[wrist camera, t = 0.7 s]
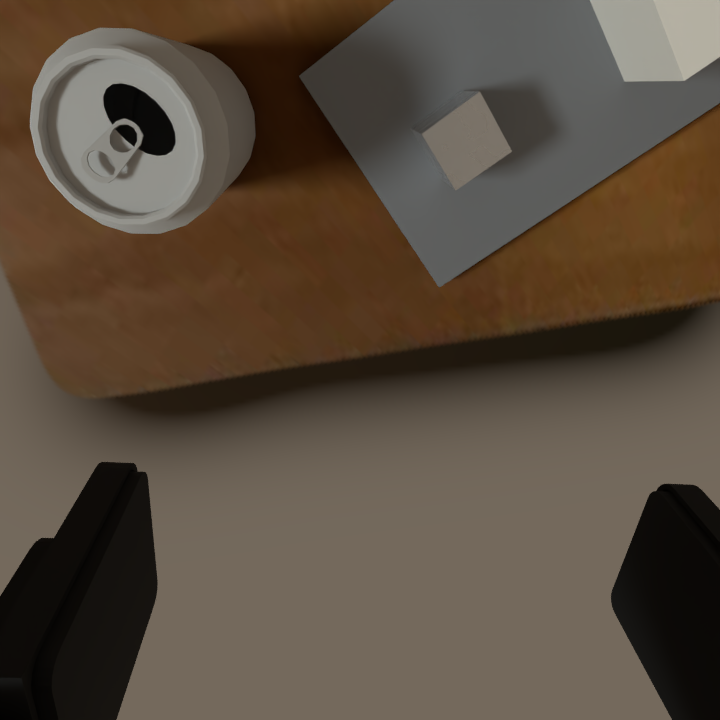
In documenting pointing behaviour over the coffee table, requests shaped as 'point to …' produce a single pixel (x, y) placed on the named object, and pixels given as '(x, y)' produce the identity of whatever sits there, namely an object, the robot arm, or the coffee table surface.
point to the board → (508, 106)
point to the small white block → (461, 138)
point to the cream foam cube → (660, 36)
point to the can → (140, 128)
